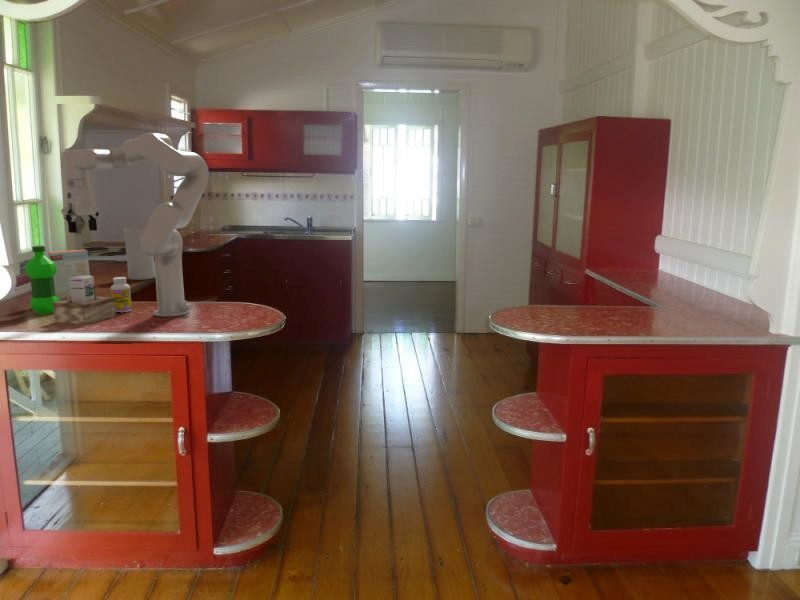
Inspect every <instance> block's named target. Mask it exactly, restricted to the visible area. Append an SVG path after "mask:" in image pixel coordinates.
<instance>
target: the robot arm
mask: <svg viewBox="0 0 800 600" xmlns="http://www.w3.org/2000/svg"><path fill="white" fill-rule="evenodd" d="M63 154H64V155H63V156H64V167H65V175H66V176H65V177H66V181H65V185H66V186H67V188H66V191H65V192H66V195H65V202H66V203H65V207H63V208H62V209H60V213H61V214H62V216H63V218H64V219H65V221H66V222H67V225H68V232H69V233H71V234H73V233H75V234H76V233H77V232H78V230H77V229H78V228H77V222H76V221H75V220H76V219H77V217H85V216H86V217H88V229H89V231H95V232H96V231H97V230H98V225H97V224H98V223H97V220H98V218H99V215H100V211H101V207H100V206H98V205H97V204H96V199H95V193H94V190H93V188H92V187H91V183H90V173H89V171H109V170H115V169H119V168H120V169H121V168H125V167H128V166H133V165H136V164H139V163H140V164H141V163H144V162H145V163H146V162H150V163H152V164H153V165H155V166H156V167H157V168H159V169H161V170H162V171H164V172H165V173H167V174H168V175H171V176H174V177H184V178H183V179H182V181H181V183H180V184H179V185H178V186H177V189H176V190H175V193H174V194H173V197H172V198H171V200H170V201H167V202H162V203H160V204H159V205H157V206H156V207H155V208H154V210H153V211H152V212H151V214H150V217H148V218H149V219H148V220H147V223H146V225H145V226H144V227H145V229H144V231H143V233H142V236H141V239H140V246H141V249H142V251H143V252H144V253H145V254H146V255H148V256H151V257H154V266H155V278H154V279H155V290H156V303H157V309H156V310H154V311H153V315H154V316H155V317H165V318H166V317H170V318H171V317H179V316H183V315H187V314H189V313H190V312H191V311H192V310H193V308H194V305H193V304H188V301H187V300H185V289H184V275H183V245H184V242H183V237H182V235H181V234H180V232H179V231H178V230H177V229H182V228H185V227H186V226H188V225H189V223H190V222H191V219H192V217H193V216H194V213H195V211H196V209H197V207H198V205H199V202H200V200H201V198H202V195H203V194H204V192H205V190H206V187H207V185H208V182H209V180H210V178H209V177H210V176H209V175H210V173H209V167H208V165H207V162H206V161H205V160H204V159H203V157H202V156H201V155H200V154H197V153H196V152H193V151H188V150H187V151H181V150H177V149H175V148H174V143H173V141H172V139H171V138H170V137H169V136H168V135H166V134H163V133H157V132H146V133H145V132H144V133H142V134H141V135H139V136H138V137H135V138H131V139H127V140H125V141H124V142H123V144H122V145H120V146H115V147H111V148H105V149H104V148H84V149H67V150H65V151H64V153H63Z"/></svg>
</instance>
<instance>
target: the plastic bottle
mask: <svg viewBox="0 0 800 600" xmlns="http://www.w3.org/2000/svg"><path fill="white" fill-rule="evenodd" d="M31 248H32V249H31V251H32V253H34V256H33V257H32V258H31V259H30V260H28V262H27V263H26V264H25V267H24V269H25V274H26V276H27V277H28V278H29V280H30V288H31V289H30V290H31V295H32V297H31V298H30V301H29V303H30V307H31V308H32V310H33V311H34V312H35V313H37V315H49V313H50V314H54V310H53V302H58V301H59V300H58V298H57V297H56V295H55V286H54V277H53V276H54V275H55V274H56V265H55V263H54V262H53V261H51V260H50V259H49V258H48V256H46V255H45V252H46V246H45V245H35V246H32V247H31Z"/></svg>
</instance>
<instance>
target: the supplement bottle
mask: <svg viewBox="0 0 800 600" xmlns="http://www.w3.org/2000/svg"><path fill="white" fill-rule="evenodd" d="M112 282H113V284H112V285H111V286H110V293H111V294H110V295H111V296H110V297H113V298H114V306H115V312H126V313H130V312H132V297H131V286H130V285H129V283H127V277H125V276H117V277H113V278H112ZM129 311H130V312H129Z"/></svg>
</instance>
